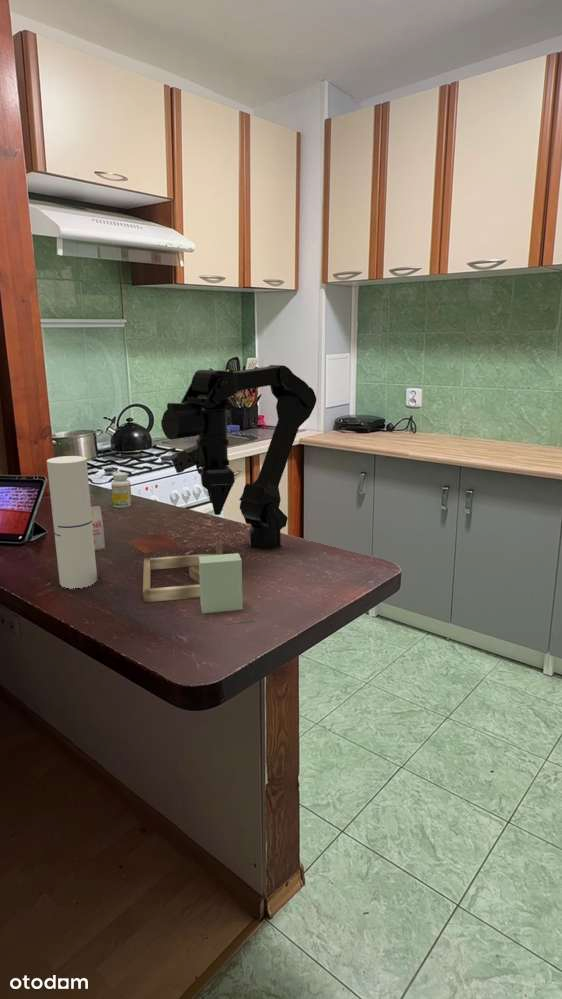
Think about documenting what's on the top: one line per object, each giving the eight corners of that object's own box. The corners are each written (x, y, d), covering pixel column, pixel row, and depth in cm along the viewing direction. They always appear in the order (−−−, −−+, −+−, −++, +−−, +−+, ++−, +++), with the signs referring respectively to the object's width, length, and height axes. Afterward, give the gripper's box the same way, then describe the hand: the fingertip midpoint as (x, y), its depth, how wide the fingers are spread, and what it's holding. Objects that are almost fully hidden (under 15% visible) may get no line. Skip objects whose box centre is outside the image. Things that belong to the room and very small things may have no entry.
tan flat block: (211, 571, 123) (211, 562, 122) (226, 580, 118) (226, 571, 117) (189, 577, 120) (189, 567, 119) (203, 586, 115) (203, 576, 115)
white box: (72, 549, 140) (67, 507, 138) (101, 544, 143) (98, 504, 141) (74, 554, 137) (70, 511, 134) (105, 549, 140) (101, 507, 137)
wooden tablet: (209, 567, 130) (209, 560, 130) (165, 576, 125) (165, 569, 125) (164, 534, 152) (164, 527, 152) (125, 541, 147) (125, 534, 147)
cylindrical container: (84, 590, 117) (72, 464, 110) (52, 586, 119) (38, 462, 112) (104, 577, 124) (93, 456, 117) (73, 573, 125) (61, 455, 119)
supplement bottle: (123, 509, 173) (120, 476, 170) (109, 507, 175) (106, 474, 173) (135, 504, 177) (133, 472, 175) (121, 502, 180) (119, 471, 177)
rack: (222, 568, 128) (221, 541, 126) (232, 601, 112) (231, 571, 110) (145, 574, 125) (143, 547, 123) (144, 609, 109) (141, 578, 107)
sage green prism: (239, 605, 109) (238, 553, 106) (242, 613, 105) (241, 560, 103) (200, 609, 107) (198, 556, 105) (202, 617, 104) (200, 563, 101)
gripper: (170, 428, 128) (174, 499, 132) (173, 442, 111) (177, 524, 115) (222, 426, 131) (224, 496, 135) (233, 440, 113) (235, 520, 117)
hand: (215, 508), depth 125 cm, fingers open, 9 cm apart
